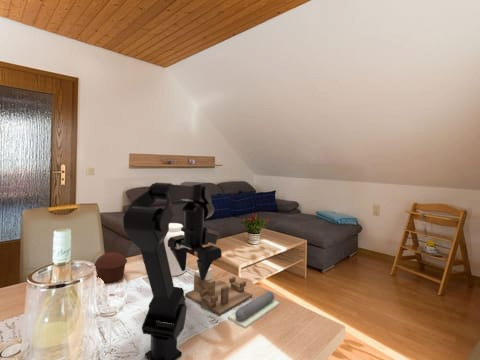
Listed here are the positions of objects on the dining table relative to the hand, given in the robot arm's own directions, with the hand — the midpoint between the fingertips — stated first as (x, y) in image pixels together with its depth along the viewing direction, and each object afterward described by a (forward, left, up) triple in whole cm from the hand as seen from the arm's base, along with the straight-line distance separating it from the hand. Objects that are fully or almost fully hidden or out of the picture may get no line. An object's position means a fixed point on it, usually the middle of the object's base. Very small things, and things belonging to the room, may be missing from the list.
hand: (192, 275), depth 80 cm
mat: (-12, -16, -13) cm, 24 cm away
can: (+32, -15, -13) cm, 38 cm away
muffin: (+42, +6, -13) cm, 44 cm away
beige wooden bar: (+8, -11, -6) cm, 15 cm away
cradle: (+2, -14, -13) cm, 19 cm away
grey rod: (-12, -16, -11) cm, 23 cm away
